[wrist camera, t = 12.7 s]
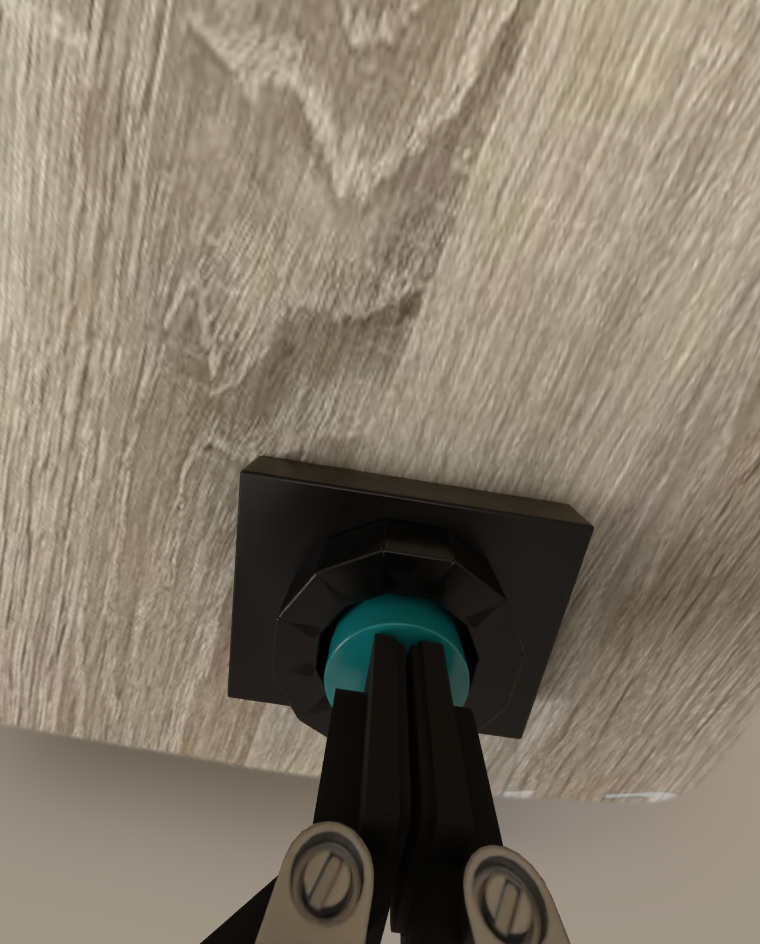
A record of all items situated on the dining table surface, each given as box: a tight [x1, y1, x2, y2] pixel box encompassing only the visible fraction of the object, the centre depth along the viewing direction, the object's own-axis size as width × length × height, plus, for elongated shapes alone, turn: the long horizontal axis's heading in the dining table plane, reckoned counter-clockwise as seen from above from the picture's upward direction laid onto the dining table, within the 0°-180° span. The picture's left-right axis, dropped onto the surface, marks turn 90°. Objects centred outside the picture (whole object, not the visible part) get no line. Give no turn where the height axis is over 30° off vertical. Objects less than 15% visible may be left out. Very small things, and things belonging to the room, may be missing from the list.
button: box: [324, 593, 470, 707], centre depth 11 cm, size 4×4×2 cm
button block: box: [228, 456, 594, 739], centre depth 12 cm, size 10×8×4 cm
